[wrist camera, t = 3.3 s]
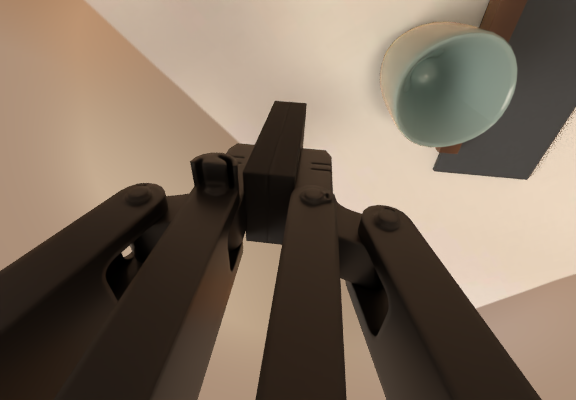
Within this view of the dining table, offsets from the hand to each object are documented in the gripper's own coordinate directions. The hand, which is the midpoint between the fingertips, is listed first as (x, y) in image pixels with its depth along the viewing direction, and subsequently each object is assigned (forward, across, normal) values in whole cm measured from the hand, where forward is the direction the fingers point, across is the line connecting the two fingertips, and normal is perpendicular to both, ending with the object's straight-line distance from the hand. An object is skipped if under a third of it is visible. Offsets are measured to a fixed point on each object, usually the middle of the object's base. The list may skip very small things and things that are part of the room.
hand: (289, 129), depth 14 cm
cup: (+18, +10, 0) cm, 20 cm away
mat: (+17, +21, 0) cm, 27 cm away
